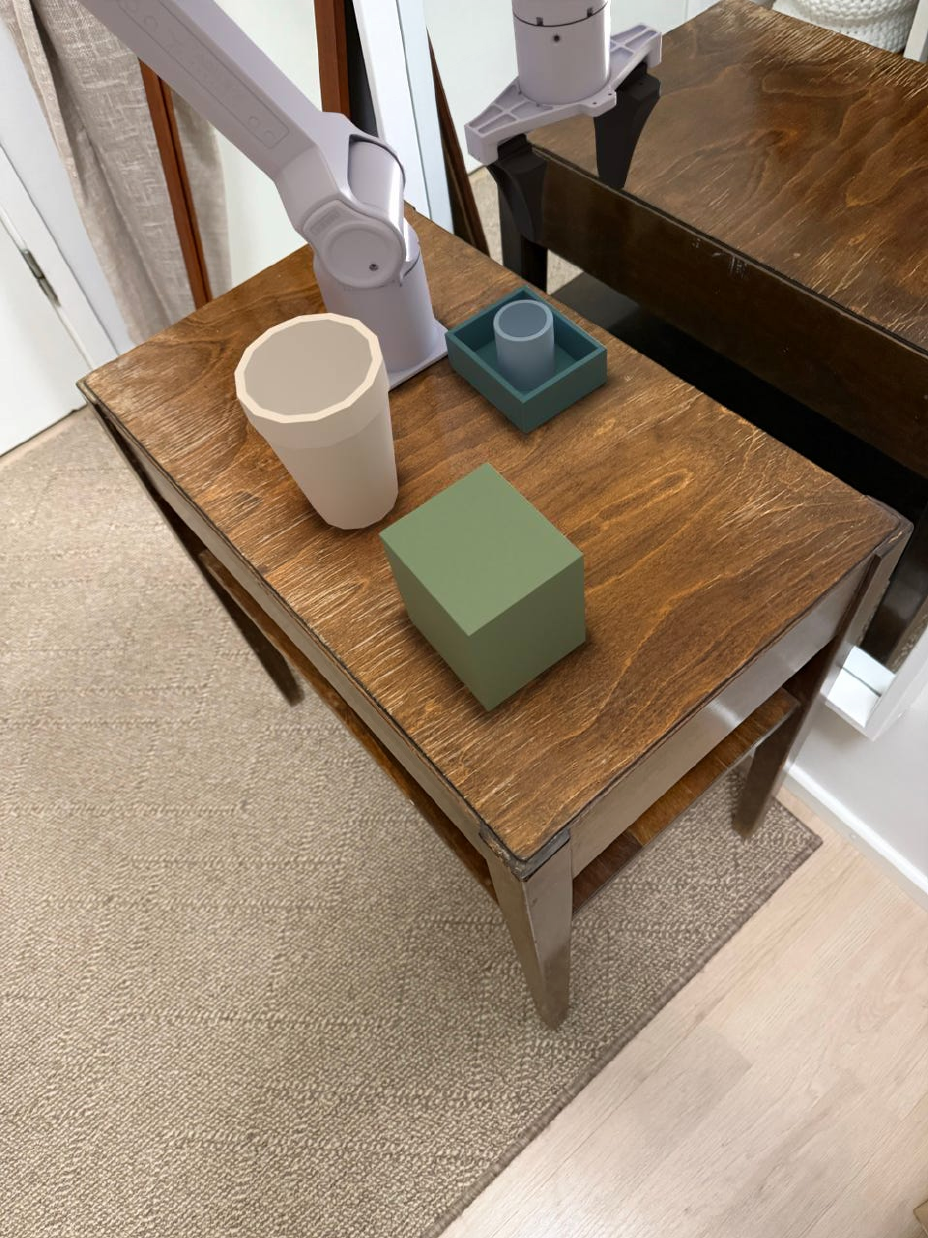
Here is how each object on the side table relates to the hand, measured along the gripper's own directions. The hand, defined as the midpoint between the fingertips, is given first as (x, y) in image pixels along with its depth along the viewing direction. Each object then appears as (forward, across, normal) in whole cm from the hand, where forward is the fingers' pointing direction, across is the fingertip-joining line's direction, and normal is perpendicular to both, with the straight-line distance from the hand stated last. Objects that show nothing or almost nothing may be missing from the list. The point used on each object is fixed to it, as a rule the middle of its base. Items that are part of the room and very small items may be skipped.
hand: (571, 208), depth 63 cm
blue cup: (+10, -6, -2) cm, 12 cm away
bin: (+10, -6, -2) cm, 12 cm away
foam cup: (+10, -24, -3) cm, 26 cm away
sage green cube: (+10, -22, -19) cm, 31 cm away
